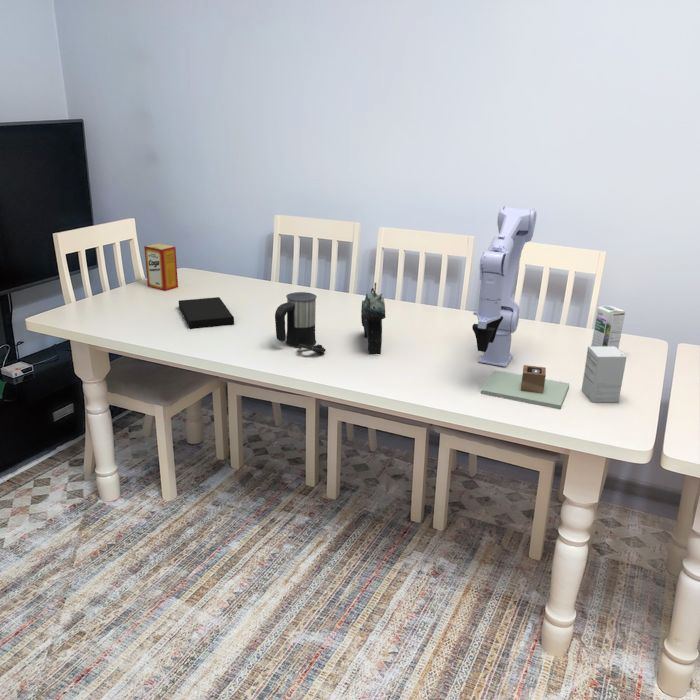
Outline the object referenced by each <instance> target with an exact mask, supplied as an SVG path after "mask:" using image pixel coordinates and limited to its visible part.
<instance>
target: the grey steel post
mask: <svg viewBox="0 0 700 700" xmlns="http://www.w3.org/2000/svg"><path fill="white" fill-rule="evenodd" d="M532 373H540V370H538V369H532Z"/></svg>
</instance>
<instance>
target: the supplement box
mask: <svg viewBox="0 0 700 700" xmlns="http://www.w3.org/2000/svg"><path fill="white" fill-rule="evenodd" d="M585 360H586V361H585V366H584V373H583V379H582V384H581V391H582V393H583V394H584V396H585V397H586V398H587V399H588V400H589V402H591V403H618V402H620V396H621V390H622V385H623V380H624V374H625V368H626V362H627V356H626V355H625V354H624V353H623V352H622V351H620V349H619V348H618V349H617V348H616V347H614V346H612V347H593V346H589V345H588V346H587V352H586V357H585Z"/></svg>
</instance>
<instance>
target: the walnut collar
mask: <svg viewBox="0 0 700 700" xmlns="http://www.w3.org/2000/svg"><path fill="white" fill-rule="evenodd" d="M532 369H538V370H540V373H532ZM546 370H547V368H546V367H542V366H536V365H529V364H528V365H526V364H524V365H523V367H522V374H521V375H522V382H521V391H526V392H534V393H542V394H543V391H544V384H545V379H546V375H547V373H546Z"/></svg>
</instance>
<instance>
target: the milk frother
mask: <svg viewBox="0 0 700 700" xmlns="http://www.w3.org/2000/svg"><path fill="white" fill-rule="evenodd" d="M285 297H286V299H287V301H286V302H285V303H282V304H280V305H279V306H277V308H276V310H275V313H274V319H275V320H274V321H275V322H274V323H275V334H276V335H275V336H276V340H278V341H280V342H285V344H286V345H288V346H290V347H292V346H294V347H293V348H302V349H306V350H307V349H308V350H310V351H312V352H313V353H316V352H317V353H316V354H319V353H322V352H326V348H325V347H324V346H323V345H322V344H317V340H316V307H317V306H316V299H317V295H316V294H315V293H311V292H306V291H301V292H300V291H297V292H291V293H287V294H286V295H285Z"/></svg>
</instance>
